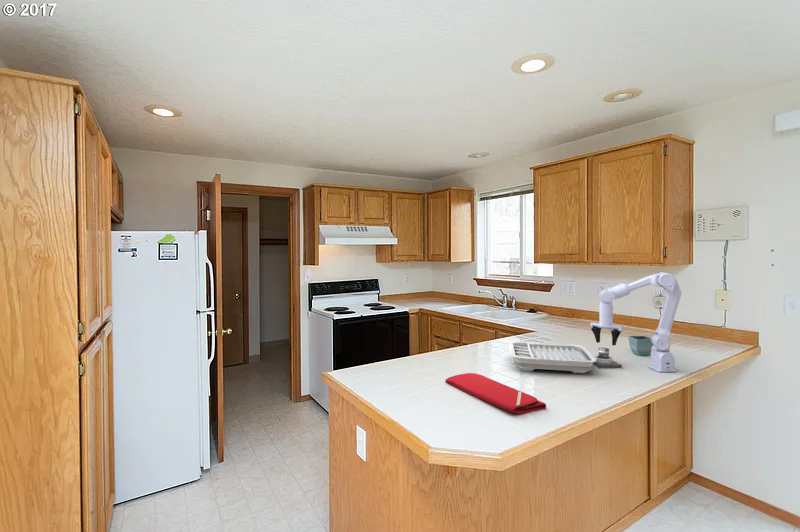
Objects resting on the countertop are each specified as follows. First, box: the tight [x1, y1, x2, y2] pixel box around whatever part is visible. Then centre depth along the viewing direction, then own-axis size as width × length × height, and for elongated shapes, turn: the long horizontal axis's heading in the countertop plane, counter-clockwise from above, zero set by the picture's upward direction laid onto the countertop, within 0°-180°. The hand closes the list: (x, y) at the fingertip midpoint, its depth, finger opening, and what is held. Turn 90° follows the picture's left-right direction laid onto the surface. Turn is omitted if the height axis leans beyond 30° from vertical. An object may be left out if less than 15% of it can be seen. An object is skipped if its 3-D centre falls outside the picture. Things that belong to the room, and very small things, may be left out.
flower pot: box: [628, 335, 653, 356], centre depth 215 cm, size 9×9×9 cm
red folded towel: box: [445, 372, 547, 415], centre depth 159 cm, size 16×41×4 cm, turn 27°
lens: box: [598, 347, 610, 359], centre depth 198 cm, size 5×5×6 cm
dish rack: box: [508, 341, 597, 374], centre depth 196 cm, size 32×37×8 cm
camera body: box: [593, 353, 623, 369], centre depth 198 cm, size 14×10×4 cm
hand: (606, 343), depth 198 cm, fingers open, 7 cm apart
